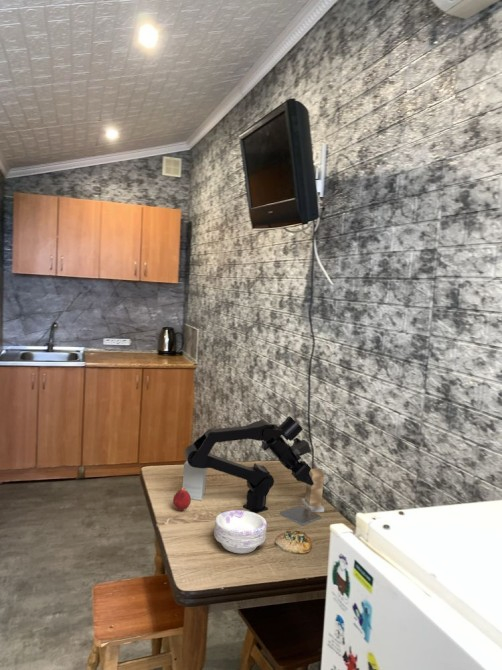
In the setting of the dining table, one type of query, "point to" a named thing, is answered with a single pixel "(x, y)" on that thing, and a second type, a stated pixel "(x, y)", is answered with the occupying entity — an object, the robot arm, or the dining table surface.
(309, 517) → the steel plate
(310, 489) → the block
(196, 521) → the dining table surface
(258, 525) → the paper bowls
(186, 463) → the supplement box
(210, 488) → the dining table surface
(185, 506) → the red pointed oval piece
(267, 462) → the dining table surface
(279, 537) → the bread roll
